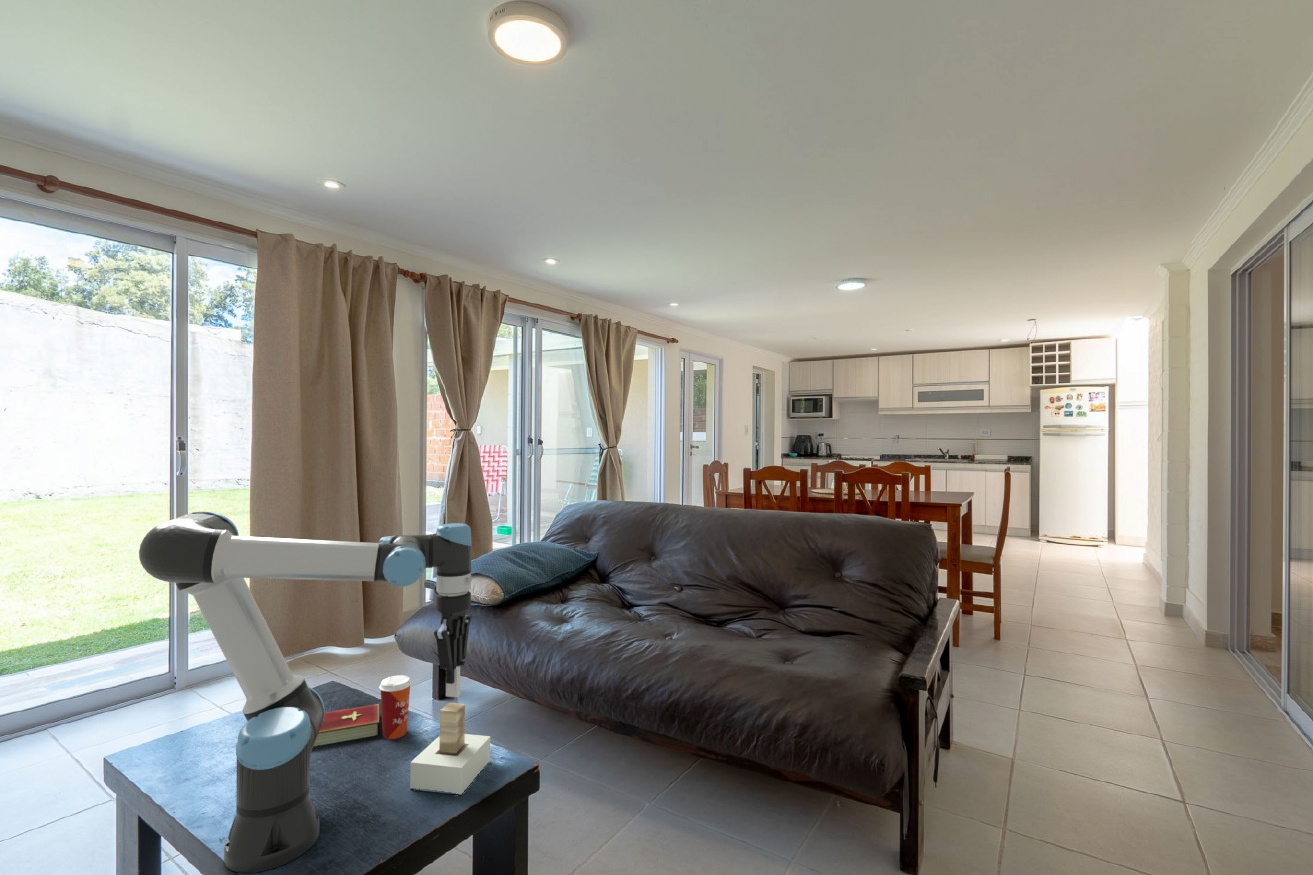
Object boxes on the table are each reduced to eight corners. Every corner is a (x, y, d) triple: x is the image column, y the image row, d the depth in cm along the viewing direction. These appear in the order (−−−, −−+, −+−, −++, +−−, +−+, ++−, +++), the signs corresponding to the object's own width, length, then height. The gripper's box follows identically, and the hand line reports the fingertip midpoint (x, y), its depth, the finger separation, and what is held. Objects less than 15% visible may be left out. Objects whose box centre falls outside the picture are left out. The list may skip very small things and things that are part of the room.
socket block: (461, 795, 130) (461, 767, 130) (410, 789, 132) (410, 762, 132) (490, 761, 143) (490, 736, 143) (443, 756, 145) (443, 731, 145)
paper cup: (403, 741, 152) (403, 686, 152) (373, 741, 152) (373, 685, 152) (416, 727, 160) (416, 674, 160) (387, 726, 160) (388, 673, 160)
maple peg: (455, 774, 135) (456, 711, 135) (439, 772, 136) (439, 710, 136) (464, 764, 139) (465, 703, 139) (448, 762, 140) (448, 702, 140)
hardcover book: (290, 732, 158) (290, 716, 158) (379, 717, 166) (379, 702, 166) (284, 754, 147) (284, 736, 147) (379, 737, 156) (379, 720, 156)
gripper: (454, 600, 131) (453, 709, 130) (482, 586, 143) (481, 685, 143) (422, 598, 132) (422, 706, 132) (452, 584, 145) (452, 682, 145)
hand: (452, 695), depth 138 cm, fingers closed
